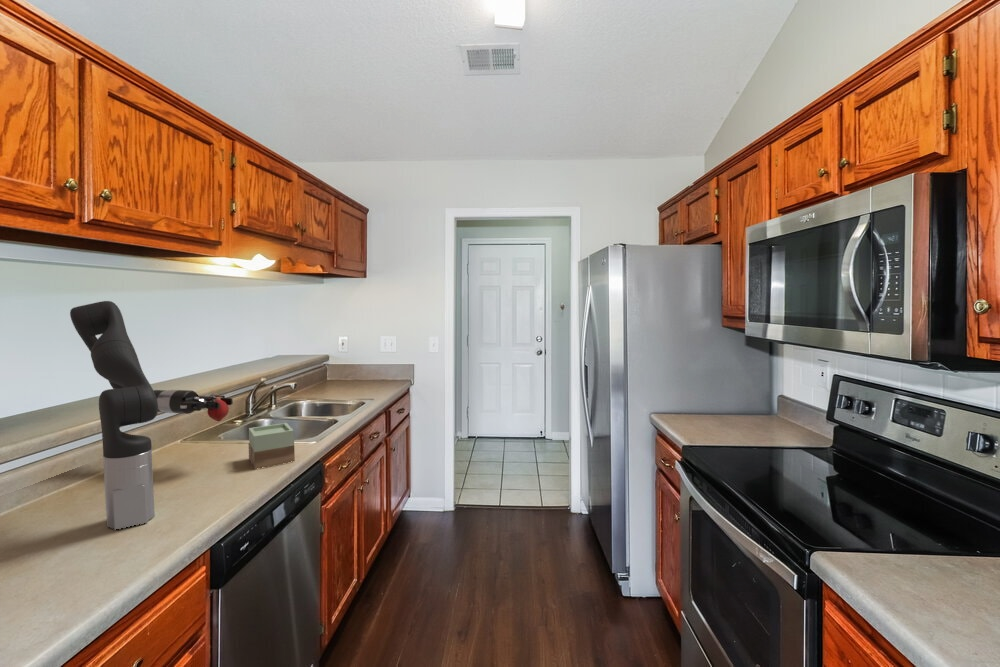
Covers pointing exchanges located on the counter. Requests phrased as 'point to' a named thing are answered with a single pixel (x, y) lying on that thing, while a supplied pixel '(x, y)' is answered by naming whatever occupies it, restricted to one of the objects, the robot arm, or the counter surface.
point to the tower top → (271, 437)
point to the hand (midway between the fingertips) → (225, 403)
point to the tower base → (271, 456)
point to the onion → (218, 410)
